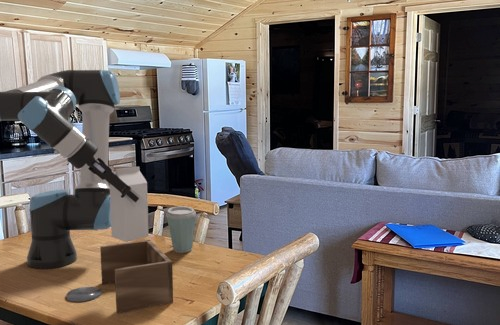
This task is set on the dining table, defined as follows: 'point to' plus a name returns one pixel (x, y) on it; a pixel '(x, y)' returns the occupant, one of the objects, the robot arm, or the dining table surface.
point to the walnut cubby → (137, 274)
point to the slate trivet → (83, 294)
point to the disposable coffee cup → (181, 227)
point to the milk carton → (129, 207)
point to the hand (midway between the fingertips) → (140, 204)
